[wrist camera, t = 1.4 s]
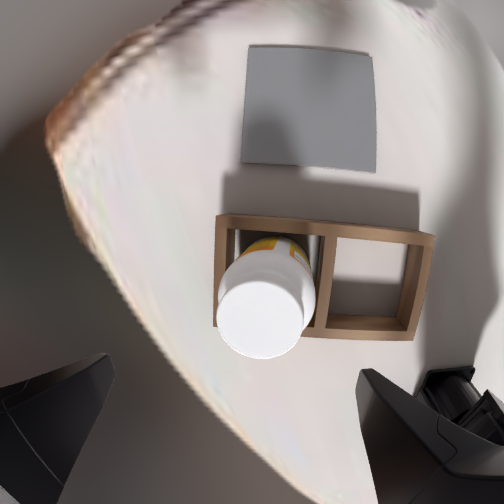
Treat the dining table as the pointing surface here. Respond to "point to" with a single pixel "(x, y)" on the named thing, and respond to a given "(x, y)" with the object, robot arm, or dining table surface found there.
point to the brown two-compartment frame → (329, 231)
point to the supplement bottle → (266, 298)
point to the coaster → (309, 109)
